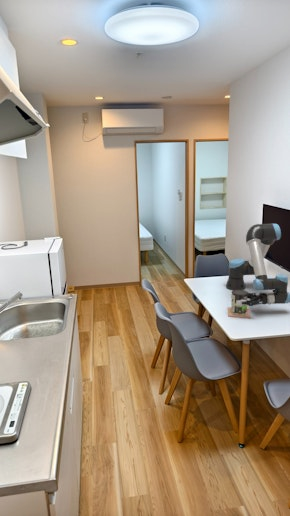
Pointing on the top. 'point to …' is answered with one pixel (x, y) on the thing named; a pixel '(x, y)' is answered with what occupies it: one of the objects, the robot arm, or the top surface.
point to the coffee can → (238, 296)
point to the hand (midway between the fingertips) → (233, 299)
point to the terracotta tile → (238, 315)
